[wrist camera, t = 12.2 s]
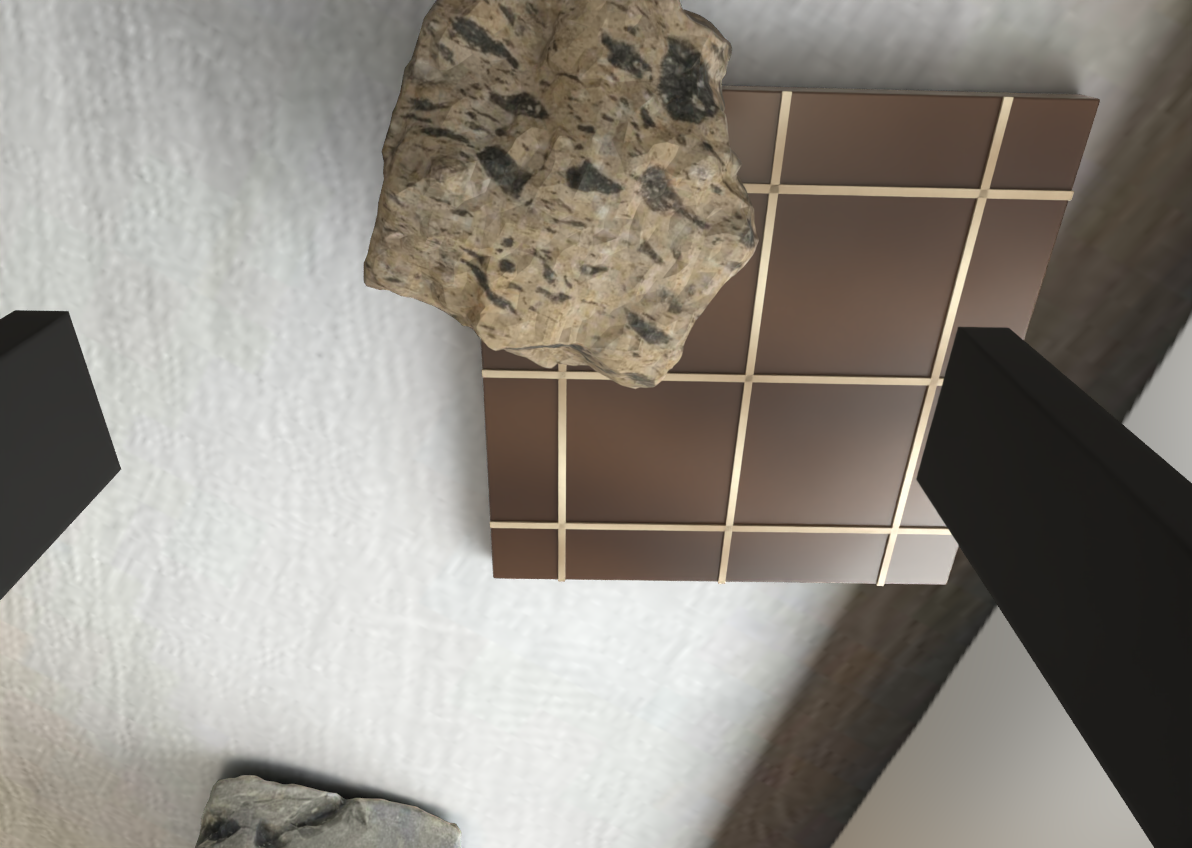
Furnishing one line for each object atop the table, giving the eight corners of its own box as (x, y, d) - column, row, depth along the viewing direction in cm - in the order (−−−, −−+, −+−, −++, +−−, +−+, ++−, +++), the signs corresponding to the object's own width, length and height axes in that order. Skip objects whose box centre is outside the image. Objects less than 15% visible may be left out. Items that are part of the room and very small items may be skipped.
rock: (813, 81, 24) (857, 101, 21) (639, 384, 30) (648, 445, 26) (480, -109, 22) (459, -125, 18) (353, 260, 27) (316, 308, 23)
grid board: (472, 78, 26) (466, 83, 24) (1081, 94, 26) (1104, 99, 25) (495, 561, 35) (492, 581, 34) (936, 567, 36) (948, 588, 35)
